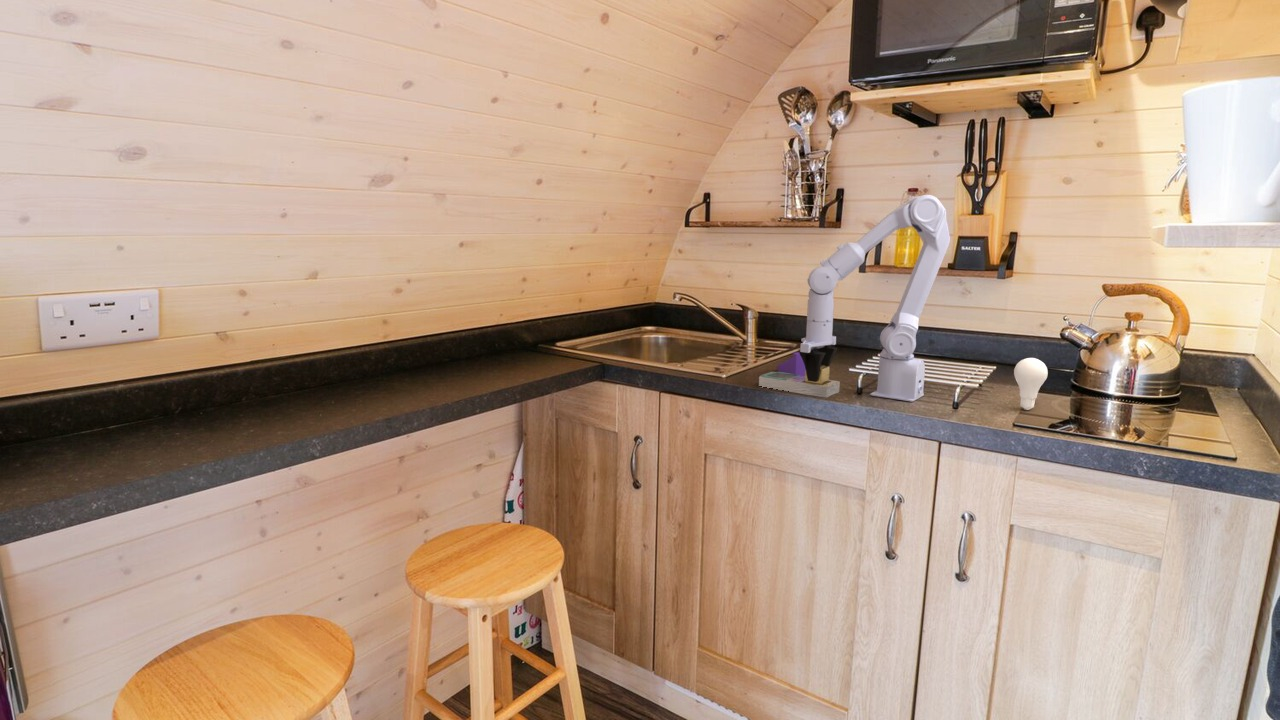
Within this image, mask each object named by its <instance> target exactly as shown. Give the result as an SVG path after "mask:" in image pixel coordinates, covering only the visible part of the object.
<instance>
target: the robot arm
mask: <svg viewBox="0 0 1280 720" xmlns="http://www.w3.org/2000/svg"><path fill="white" fill-rule="evenodd" d="M905 228H913V229H914V230H916V232H917V234H918V236H919V237H920V239H921V241H922V242H923V243H922V246H921V249H920V252H919V254H918V256H917V259H916V262H915V264H914V267H913V269H912V271H911V274H910V277H909V279H908V282H907V284H906V287H905V289H904V292H903V295H902V296H901V299H900V301H899V305H898V307H897V310H896V311H895V312H894V314H893V315H892V317H891V319H890V321H889V323H888V325H887V326H885V328H883V329H882V331H881V333H880V335H879V340H880V344H881V346H882V347H883V349H882V351H881V352H880V353H879V357H878V373H877V389H876V390H875V391H873V392H871V393H870V396H873V397H878V398H886V399H893V400H899V401H904V402H911V403H913V402H915V401H917V400H918V399H920V398H922V397H923V396H925V394H924V387H925V386H924V385H925V373H926V365H925V361H924V360H923V359H917V358H915V354H914V351H915V350H916V347H917V338H916V335H917V333H918V330H919V319H920V318H921V315H922V312H923V310H924V307H925V305H926V302H927V300H928V298H929V294H930V292H931V290H932V287H933V284H934V283H935V280H936V278H937V275H938V272H939V270H940V268H941V266H942V263H943V260H944V258H945V255H946V253H947V251H948V247H949V245H950V243H951V236H950V231H949V225H948V220H947V210H946V208H945V207H944V205H943V203H942V202H941V201H940V200H939V198H937V197H936V196H934V195H932V194H924V195H920V196H917V195H916V196H914V197H912V198H911V197H910V199H908V201H906V203H904V204H901V205H900V206H898V207H897V208H895V209H894V210H892V211H891V212H889V213H888V214H886V216H885V217H883V218H882V219H881V220H880V221H879V222H878V223H877V224H876V225H874V226H873V227H872V228H871V229H870V230H869V231H867V233H866V234H864V235H863V236H862V237H861V238H860V239H859V240H858V241H857V242H850V241H849V242H845V244H843V243H842V244H841V243H840V244H839V245H838V246H837V247H836V249H837V250H836V251H835V252H834V253H833V254H831V255H830V256H829V257H828V258H827V259H825V260H824V259H822V260H821V261H820V262H819V263H820V264H821V266H817V267H815V268H814V269H812V270H811V271H810V273H809V275H808V277H807V283H808V284H807V285H808V286H809V291H808V299H807V311H806V329H805V330H806V332H805V334H806V335H805V337H803V338H802V337H801V338H800V339H801V342H802V343H800V349H799V351H798V352H799V354H800V356H801V358H802V360H803V362H804V365H805V369H806V374H807V379H808V381H813V382H817V381H818V378H819V372H820V366H821V365H825V366H831V364H832V360H833V359H834V356H835V355H836V353H837V352H838V347H836V346H835V345H837V336H835V335H833V327H834V309H835V306H834V305H835V301H834V290H835V289H836V287H837V284H838V282H839V281H843V280H844V279H845V278H846V277H848V276H849V275H850V274H852V273H853V272H854V271H855V270H856V269H858V268H859V267H860V266H861V265H863V263H864V262H865V260H866V258H865V257H866V254H867V253H868V252H869V251H870V250H872V249H873V248H874V247H876V246H878V244H880V243H881V242H883V241H884V240H885V239H886V238H888V237H889V236H890V235H892V234H893V232H895V231H897V230H902V229H905Z"/></svg>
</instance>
